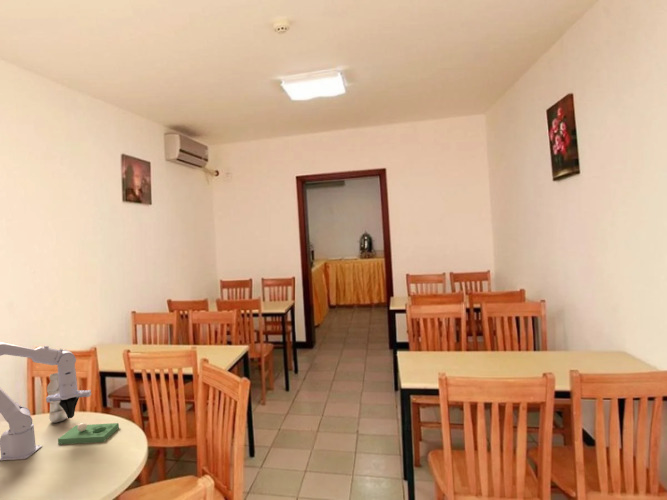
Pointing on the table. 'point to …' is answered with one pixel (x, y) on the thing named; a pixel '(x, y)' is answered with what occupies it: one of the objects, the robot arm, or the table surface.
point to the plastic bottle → (55, 409)
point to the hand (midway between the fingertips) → (71, 417)
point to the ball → (82, 427)
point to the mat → (89, 434)
